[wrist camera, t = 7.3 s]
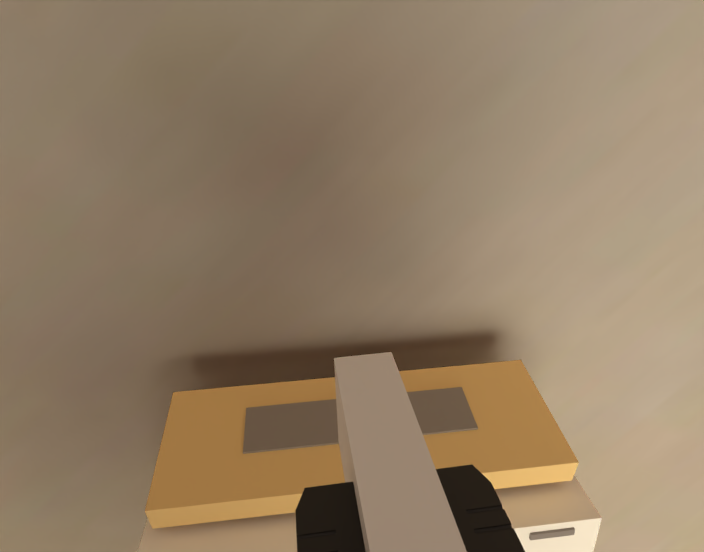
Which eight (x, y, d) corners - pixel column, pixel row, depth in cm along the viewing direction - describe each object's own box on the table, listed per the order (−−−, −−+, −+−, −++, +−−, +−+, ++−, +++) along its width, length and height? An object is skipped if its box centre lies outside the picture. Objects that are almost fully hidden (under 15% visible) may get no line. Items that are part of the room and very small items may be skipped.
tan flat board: (152, 528, 20) (144, 509, 19) (178, 409, 25) (172, 390, 24) (571, 480, 21) (579, 460, 20) (516, 377, 26) (521, 358, 25)
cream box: (210, 526, 32) (178, 723, 23) (182, 398, 27) (129, 578, 18) (489, 494, 33) (565, 666, 24) (504, 368, 29) (603, 520, 20)
